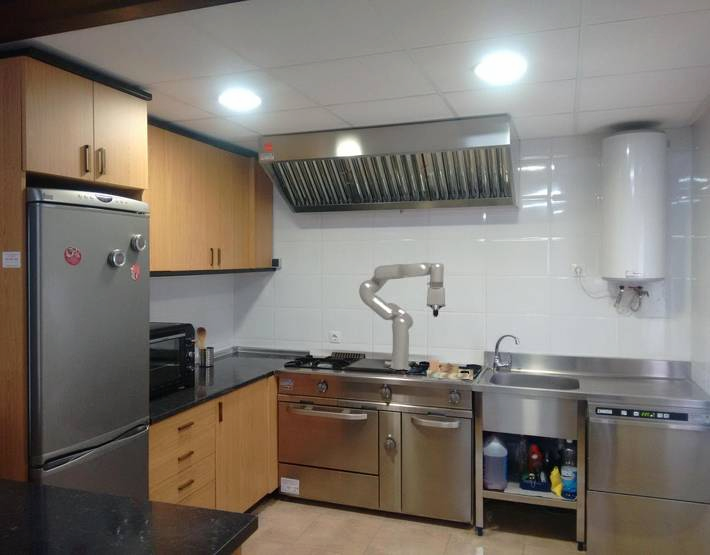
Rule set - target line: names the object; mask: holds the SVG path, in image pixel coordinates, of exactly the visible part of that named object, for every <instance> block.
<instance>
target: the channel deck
mask: <svg viewBox="0 0 710 555" xmlns="http://www.w3.org/2000/svg"><path fill="white" fill-rule="evenodd" d="M459 367H460V366H459V364H450V363H441V364H440V366H439V371H430V366H429V367H428V368H427V371H426V378H431V379H432V378H433V379H434V378H435V379H437V378H438V379H448V380H449V379H450V380H461V379H469V380H468V381H473V380H474V370H473V369H466V368H464V369H463V368H459ZM461 371H469V374H468V373H460V372H461Z"/></svg>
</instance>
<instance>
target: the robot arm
mask: <svg viewBox="0 0 710 555" xmlns="http://www.w3.org/2000/svg"><path fill="white" fill-rule="evenodd" d="M444 268H445V267H444V264H443V263H437V262H434V263H431V262H416V263H407V264H403V263H397V264H386V265H379V266H377V267H376V268H374V271H373V275H372V277H371V278H370V279H367V280H364V281H362V282H361V284H360V286H359V290H358V293H359V297H360V299H361V301H362V303H364V305H366V306H367V307H369V308H370V309H371V311H373V312H375V313H376V314H377V315H378V316H380V318H382V319H383V320H385V321H392V323H391V329H392V356H391V357H392V358H391V359H392V360H390V361H388V360H384V365H386V366H389V369H390V368H393V369H394V368H395V369H405V370H408V371H411V369H412V367H411V366H409V358H410V357H409V353H410V352H409V350H410V334H409V329H411V328H412V327H413V325H414V320H413V317H412V316H411V315H410V314H409V313H407V312H406V311H405V310H403V308H401V307H400V306H398V305H397V304H396V303H392V302H390V303H389V302H388V303H387V302H386V301H385V300H384V299H382V298H381V297H379V296H378V295H377V294H376V293H378V292H379V291H380V290H381V289H382V288H383V287H384V286H385V285H386V283H387V282H388V281H389V280H396V279H397V280H398V279H404V278H415V277H416V278H417V277H424V276H429V282H427V283H426V284H427V286H429V287H427V288H428V289H427V294H426V295H427V296H426V307H429V308H431V309H432V316H433V317H434V318H438V316H439V310H441V308H445V307H446V291H445V290H446V289H445V287H444ZM435 307H436V308H435Z"/></svg>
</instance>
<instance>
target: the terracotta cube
mask: <svg viewBox="0 0 710 555" xmlns="http://www.w3.org/2000/svg"><path fill="white" fill-rule="evenodd" d="M429 367H430V371H439V368H440V361H439V360H434V359H433V360H432V359H430V360H429Z"/></svg>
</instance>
